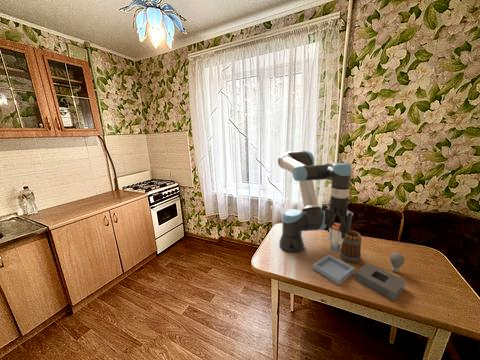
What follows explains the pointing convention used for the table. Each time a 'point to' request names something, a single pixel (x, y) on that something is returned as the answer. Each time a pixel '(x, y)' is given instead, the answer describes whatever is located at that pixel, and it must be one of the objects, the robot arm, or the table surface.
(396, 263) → the light bulb
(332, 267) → the tray
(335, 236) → the pin
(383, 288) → the hitch block
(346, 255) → the mug
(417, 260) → the table surface
